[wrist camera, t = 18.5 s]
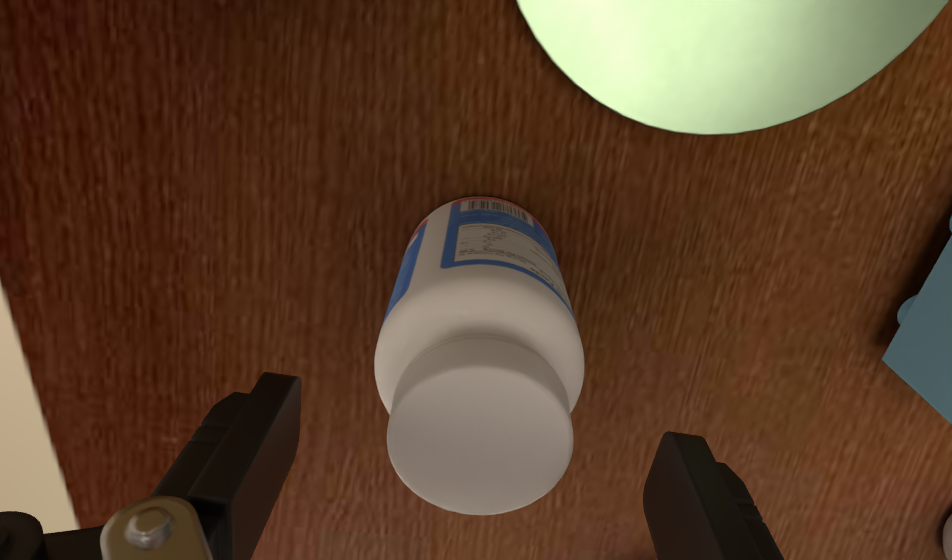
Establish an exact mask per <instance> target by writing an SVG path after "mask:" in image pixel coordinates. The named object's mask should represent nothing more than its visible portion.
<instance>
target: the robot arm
mask: <svg viewBox="0 0 952 560" xmlns="http://www.w3.org/2000/svg"><path fill="white" fill-rule="evenodd" d="M300 409H301V378H300V377H297V376H290V375H283V374H276V373H269V372H264V373H263V374H262V376H261V377H260V379H259V380H258V382H257V383H256V385H255V387H254V388H253V390H252V391H251V393H250V394H246V393H239V392H233V393H232V394H230V395H229V396H227V397H226V398H224V399H223V400H221V401H220V402H218V403H217V404H215V405H214V406H213V408H212V409H211V410H210V412H209V413H208V415H207V416H206V418H205V419H204V420H203V422H202V425H201V427H199V428H198V429H197V430H196V432H195V433H194V435H193V436H192V439H191V441H189V442H188V443H187V445H186V446H185V448H184V449H183V450H182V452H181V453H180V455H179V456H178V458H177V459H176V460H175V462H174V463H173V465H172V466H171V468H170V469H169V470H168V472H167V473H166V475H165V476H164V478H163V479H162V480H161V482H160V483H159V485H158V486H157V488H156V489H155V490H154V492H153V493H152V495H151V496H150V497H148V498H144V499H141V500H138V501H135V502H133V503H131V504H129V505H127V506H126V507H124V508H122V509H121V510H119V511H118V512H117V513H116V514H114V515H113V516H112V517H111V519H110V520H109V521H108V522H107V524H106V525H102V526H99V527H93V528H87V529H79V530H71V531H64V532H55V533H48V534H43V530H42V526H41V524H40V522H39V521H38V520H37V519H36V518H35V517H33V516H32V515H30V514H27V513H23V512H17V511H15V512H14V511H13V512H12V511H7V512H0V560H250V559H251V557H252V555H253V552H254V550H255V548H256V546H257V543H258V541H259V539H260V537H261V534H262V532H263V530H264V527H265V525H266V523H267V521H268V518H269V516H270V514H271V511H272V509H273V507H274V505H275V502H276V500H277V498H278V496H279V493H280V491H281V489H282V486H283V484H284V482H285V480H286V477H287V475H288V473H289V470H290V468H291V466H292V464H293V461H294V458H295V455H296V451H297V447H298V442H299V434H300ZM643 506H644V513H645V516H646V520H647V523H648V526H649V530H650V533H651V537H652V540H653V543H654V547H655V550H656V553H657V557H658V560H784V559H783V557H782V555H781V553H780V551H779V549H778V547H777V545H776V543H775V541H774V539H773V538H772V536H771V534H770V532H769V530H768V528H767V526H766V524H765V523H763V522H762V519H763V518H762V517H761V515H760V513H759V511H758V509H757V507H756V506H754V501H753V499H752V498H751V496H750V494H749V492H748V490H747V488H746V486H745V484H744V482H743V481H742V480H741V479H740V478H739V477H738V476H737V475H736V474H735V473H734V472H733V471H732V470H731V469H730V468H729V467H728V466H727V465H726V464H725V463H719V462H716V461H715V459H714V457H713V455H712V453H711V451H710V448H709V446H708V444H707V442H706V441H705V439H704V438H703V437H702V436H696V435H689V434H682V433H676V432H669V431H668V432H666V433H665V434H664V435H663V437H662V439H661V442H660V444H659V447H658V450H657V453H656V455H655V458H654V461H653V464H652V466H651V469H650V472H649V474H648V477H647V480H646V483H645V487H644V493H643Z"/></svg>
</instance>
